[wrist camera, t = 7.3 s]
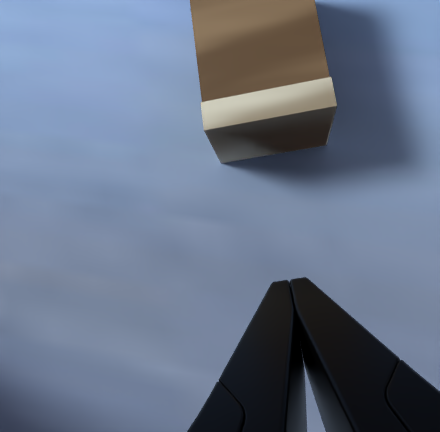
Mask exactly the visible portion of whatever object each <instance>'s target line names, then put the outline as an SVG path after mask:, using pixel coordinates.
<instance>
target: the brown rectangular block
mask: <svg viewBox="0 0 440 432" xmlns="http://www.w3.org/2000/svg"><path fill="white" fill-rule="evenodd" d="M190 6H191V14H192V22H193V31H194V39H195V47H196V56H197V64H198V72H199V81H200V89H201V97H202V102H201V109H202V118H203V126H204V131H205V133H206V135H207V137H208V139H209V141H210V143H211V145H212V147H213V149H214V151H215V153H216V155H217V157H218V158H219V160H220V162H221V163H226V162H232V161H238V160H244V159H250V158H255V157H261V156H267V155H273V154H279V153H284V152H290V151H296V150H302V149H308V148H313V147H319V146H325V145H327V142H328V138H329V135H330V131H331V127H332V123H333V119H334V115H335V112H336V108H337V103H336V98H335V93H334V88H333V83H332V78H331V77H330V76H329V71H328V66H327V61H326V56H325V51H324V46H323V41H322V36H321V31H320V25H319V20H318V15H317V10H316V5H315V0H190Z"/></svg>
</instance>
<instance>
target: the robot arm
mask: <svg viewBox="0 0 440 432" xmlns="http://www.w3.org/2000/svg"><path fill="white" fill-rule="evenodd" d="M290 287H291V288H290ZM301 349H302V350H301ZM302 355H303V356H302ZM303 360H304V362H303ZM304 364H305V368H306V372H307V375H308V378H309V381H310V384H311V387H312V391H313V394H314V397H315V400H316V403H317V406H318V409H319V412H320V415H321V418H322V421H323V424H324V427H325V430H326V432H440V391H438V390H437V389H436V388H435V387H434V386H432V385H431V384H430V383H429V382H428V381H426V380H425V379H424V378H423V377H421V376H420V375H419V374H418V373H417V372H415V371H414V370H413V369H412V368H411V367H410V366H409V365H407V364H406V363H405V362H404V361H403V360H400V359H399V357H397V356H396V355H395V354H394V353H393V352H392V351H391V350H389V349H388V348H387V347H386V346H385V345H384V344H382V343H381V342H380V341H379V340H378V339H377V338H376V337H374V336H373V335H372V334H371V333H370V332H369V331H368V330H366V329H365V328H364V327H363V326H362V325H361V324H359V323H358V322H357V321H356V320H355V319H354V318H353V317H351V316H350V315H349V314H348V313H347V312H346V311H345V310H343V309H342V308H341V307H340V306H339V305H338V304H337V303H335V302H334V301H333V300H332V299H331V298H330V297H328V296H327V295H326V294H325V293H324V292H323V291H322V290H320V289H319V288H318V287H317V286H316V285H315V284H314V283H312V282H311V281H310V280H309V279H308V278H306V277H303V278H297V279H291V280H290V283H289V281H288V280H283V281H277V282H273V283H272V284H271V285H270V287H269V289H268V291H267V293H266V294H265V296H264V298H263V300H262V302H261V304H260V305H259V307H258V309H257V311H256V313H255V314H254V316H253V318H252V320H251V322H250V324H249V325H248V327H247V329H246V331H245V333H244V335H243V336H242V338H241V340H240V342H239V344H238V346H237V347H236V349H235V351H234V353H233V355H232V357H231V358H230V360H229V362H228V364H227V366H226V367H225V369H224V371H223V373H222V375H221V377H220V378H219V382H217V383H216V385H215V387H214V388H213V390H212V392H211V394H210V396H209V397H208V399H207V401H206V403H205V404H204V406H203V408H202V409H201V411H200V413H199V414H198V416H197V418H196V419H195V421H194V422H193V423H192V425H191V426H190V428H189V429H188V431H187V432H307V417H306V393H305V372H304Z"/></svg>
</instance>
